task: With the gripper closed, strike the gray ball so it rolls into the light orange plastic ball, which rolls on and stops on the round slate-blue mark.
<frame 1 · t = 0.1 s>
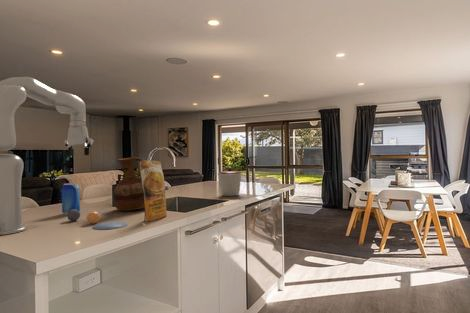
hand: (78, 155, 166), 31 cm above the counter, tool pointing down, fingers open, 9 cm apart
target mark: (110, 225, 129), on the counter
blue carton: (71, 214, 159), on the counter
object ball: (93, 217, 134), on the counter
gray ball: (73, 215, 141), on the counter
canister: (230, 195, 222), on the counter
ceramic pitcher: (133, 209, 169), on the counter
pancake mix bag: (154, 218, 143), on the counter
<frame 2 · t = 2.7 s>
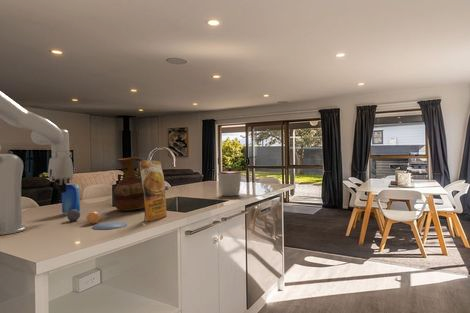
hand: (62, 192, 146), 13 cm above the counter, tool pointing down, fingers closed
nothing on the counter moved.
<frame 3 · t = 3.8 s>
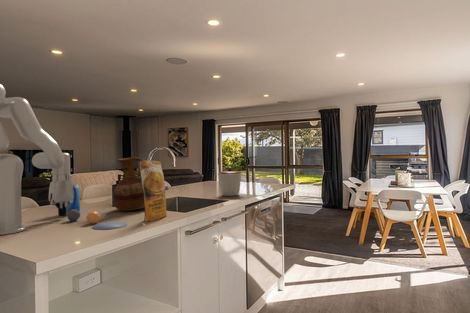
hand: (62, 215, 145), 2 cm above the counter, tool pointing down, fingers closed
nothing on the counter moved.
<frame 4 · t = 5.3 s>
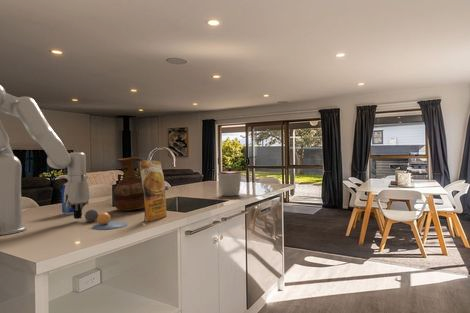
hand: (77, 218, 139), 2 cm above the counter, tool pointing down, fingers closed
object ball: (103, 218, 131), on the counter
gray ball: (91, 215, 138), on the counter
everything else where it was.
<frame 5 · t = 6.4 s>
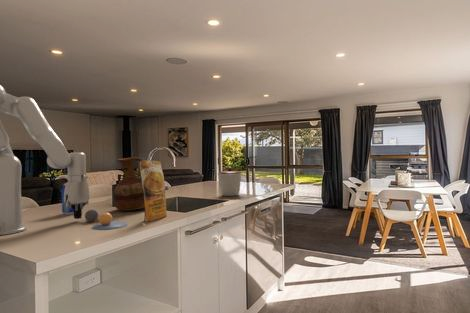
hand: (77, 218, 139), 2 cm above the counter, tool pointing down, fingers closed
object ball: (105, 218, 130), on the counter
everything else where it was.
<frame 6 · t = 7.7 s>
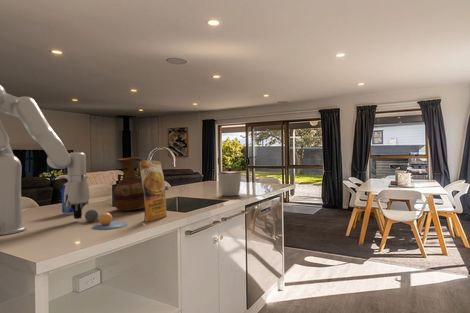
hand: (77, 218, 139), 2 cm above the counter, tool pointing down, fingers closed
nothing on the counter moved.
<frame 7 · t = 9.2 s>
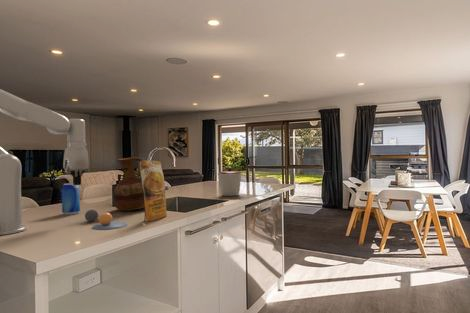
hand: (77, 184, 139), 17 cm above the counter, tool pointing down, fingers closed
nothing on the counter moved.
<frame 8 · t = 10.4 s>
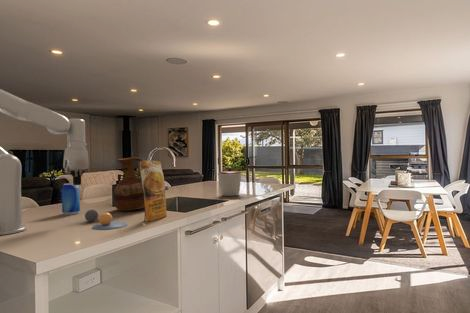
hand: (77, 184, 139), 17 cm above the counter, tool pointing down, fingers closed
nothing on the counter moved.
at the end: object ball 2.9 cm from the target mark (horizontally); object ball never touched the robot; gray ball first touched object ball at 4.4 s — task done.
